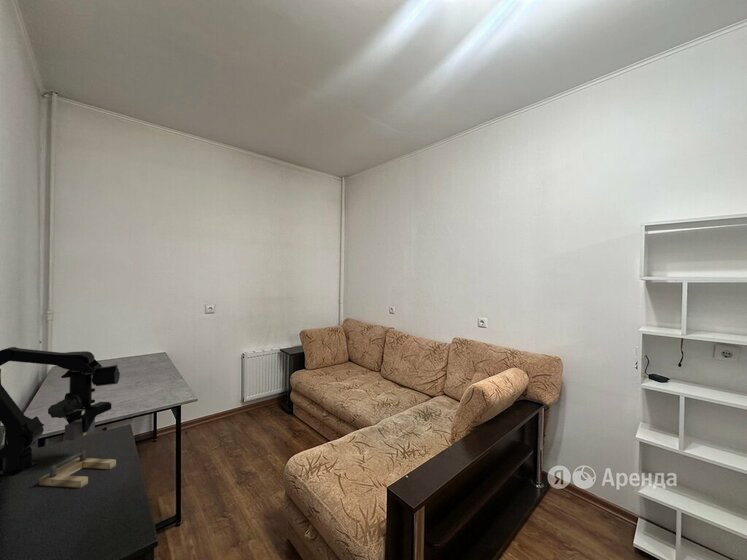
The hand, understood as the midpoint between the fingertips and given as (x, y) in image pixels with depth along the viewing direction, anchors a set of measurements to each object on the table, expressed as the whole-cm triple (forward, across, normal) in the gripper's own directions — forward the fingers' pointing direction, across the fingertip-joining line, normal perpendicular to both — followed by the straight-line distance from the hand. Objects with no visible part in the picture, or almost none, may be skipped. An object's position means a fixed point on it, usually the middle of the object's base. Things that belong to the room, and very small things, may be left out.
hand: (80, 432), depth 105 cm
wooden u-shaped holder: (+9, +11, -9) cm, 17 cm away
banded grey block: (+1, 0, 0) cm, 1 cm away
